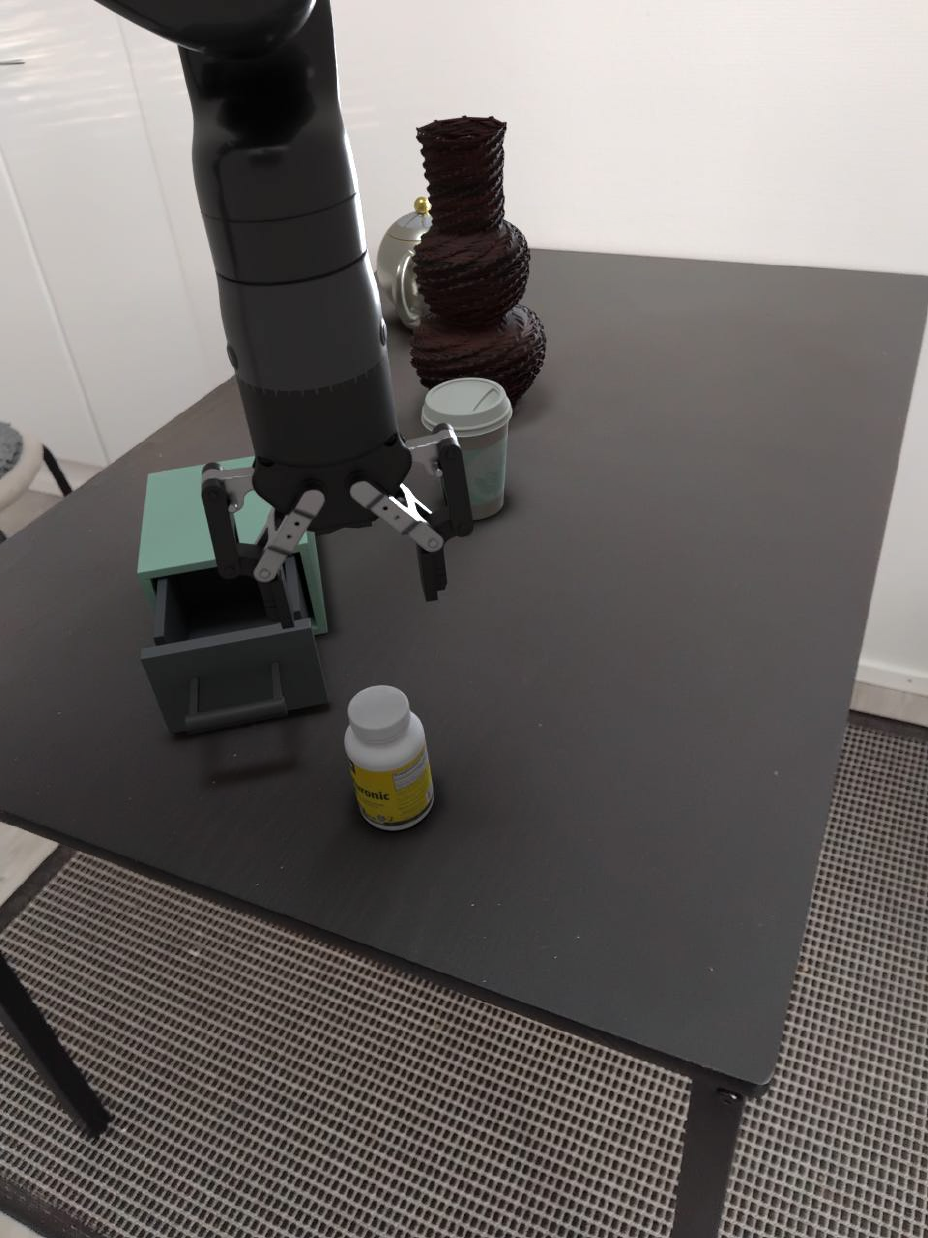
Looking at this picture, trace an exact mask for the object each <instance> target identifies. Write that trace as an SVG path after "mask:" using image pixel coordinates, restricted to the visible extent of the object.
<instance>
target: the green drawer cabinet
mask: <svg viewBox="0 0 928 1238" xmlns="http://www.w3.org/2000/svg"><path fill="white" fill-rule="evenodd" d="M254 459H255V455H251V456H247V457H246V456H245V457H240V458H234V459H227V460H221V461H216V462H214V463H218V464H220V465H222V466H223V468H224V470H229V469H238V468H246V467H252V465H253V462H254ZM206 464H207V463H204V464H198V465H192V466H187V467H186V466H185V467H181V468H174V469H168V470H162V471H157V472H150V473H147V479H146V487H145V488H146V489H145V498H144V505H143V506H144V507H143V514H142V515H143V516H142V525H141V533H140V541H139V542H140V544H139V550H138V551H139V552H138V559H137V560H138V561H137V568H136V569H137V570H136V573H137V577H138V579H139V582H140V585H141V587H142V590H143V593H144V596H145V598H146V601H147V604H148V607H149V609H150V612H151V615H152V618H153V620H154V619H155V607H156V594H157V582H158V577H162V576H168V575H173V574H179V573H185V572H190V571H196V570H201V569H207V568H213V567H217V563H216V559H215V555H214V550H213V546H212V541H211V537H210V533H209V528H208V524H207V519H206V515H205V511H204V506H203V502H202V497H201V481H202V469H203V467H204V466H205V465H206ZM271 508H272V506H271V505H270V504H269V503H267V502H266V501H265V500H263V499H262V498H261V497H259V496H258V495H257V493H256V492H255V490H254V491H250V492H248V493H247V494H246V495H245V497H244V505H243V507H242V508H241V509H240V510H238V511H237V512H235V513H234V518H235V522H236V527H237V532H238V537H239V542H240V543H247V544H255V542H256V540H257V538H258V536H259V535H260V533H261V531H262V529H263V528H264V526H265V524H266V521H267V517H268V514H269V512H270V510H271ZM297 552H298V556H299V560H300V565H301V569H302V573H303V578H304V582H305V586H306V590H307V598H308V607H309V616H310V620H311V624H312V628H313V633H314V636H317V635H318V636H319V635H322V634H327V633H328V632H329V630H328V629H329V628H328V623H327V615H326V607H325V600H324V592H323V586H322V578H321V577H322V576H321V571H320V564H319V557H318V548H317V541H316V533H315V532H311V531H307V530H306V531H305V533H304V535H303V536H302V538H301V540H300V542H299V543H298V545H297V547H296V548H295V550H294V552H293V553H297Z"/></svg>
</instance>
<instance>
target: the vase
mask: <svg viewBox="0 0 928 1238" xmlns="http://www.w3.org/2000/svg"><path fill="white" fill-rule="evenodd" d="M507 126H508V122H507V121H501V120H500V119H497V118H495V117H494V115H489V116H488V117H481V116H467V115H466V114H464V115H461V117H453V118H446V119H445V118H444V119H439V120H438V119H433V122H430V123H427V124H425V125H422V126H419V127H417V126H416V127H415V130H416V135H415V139H416V140H417V142H418V143H419V144H420V145H422V148H420V149H419V151H420V154H421V156H422V157H423V158H424V161H423V162H422V163H421V165H422V168H423V169H424V170H425V171H424V173H423V176H424V179H425V180H426V181H428V183H429V184H428V185H427V186H426V191H427V193H428V194H429V196H428V197H427V199H428V202H429V203H430V210H429V214H430V215H431V216H432V218H433V219H432V220H431V222H432V224H433V225H432V226H431V227H430V229H429V230H428V232H426V233H423V234H422V235H421V237H420V238H421V242H420V243H419V244H418V245H415V246H414V250H415V255H414V256H413V257H412V261H413V262H415V263H416V264H417V266H414V268H412V271H413V272H414V273H415V274H416V275H417V278H416V279H415V281H416V283H418V284H420V285H421V287H420V288H418V292H419V294H422V295H423V296H424V297H425V299H424V302H425V303H426V304H429V305H430V309H428V310H429V311H430V312H432V313H429V314H428V315H424V316H423V317H422V318H421V319H420V324H419V326H418V327H416V328H415V329H413V330H412V333H413V335H411V337H409V338H408V345H409V347H411V349H410V351H409V355H410V356H411V358H410V361H409V363H410V365H411V367H412V368H414V369H415V373H416V376H418V377H419V378H420V379H419V380H418V381H419V384H420V385H421V386H423V387H424V388H425V389H426V388H427V389H428V392H429V391H430V390H431V389H432V388H434V387H435V386H437V385H439V384H441V383H444V382H446V381H450V380H454V379H460V378H482V379H487V380H491V381H494V382H496V383H498V384H499V385H501V386H502V387H503V389H504V390H505V393H506V396H507V398H508V399H509V401H510V404H511V408H512V413H513V412H514V409H515V408H516V407H517V404H518V402H519V401H520V400H522V397H523V395H524V394H525V393H527V390H529V389H530V387H531V386H532V385H533V383H534V381H535V379H536V378H537V376H538V375H539V374H540V372H541V370H542V367H543V366H544V364H545V359H546V351H547V346H546V345H547V336H546V333H545V331H544V329H545V327H544V324H543V323H542V320H541V318H540V317H539V316H538V314H537V313H536V312H535V311H533V310H531V309H530V308H529V307H527V306H525V305H521V304H519V303H520V301H521V300H522V299H523V298H524V296H525V293H526V290H527V288H526V286H527V284H528V279H529V277H530V263H529V262H530V261H531V258H532V257H531V256H532V255H531V249H530V248H529V245H528V241H527V239H526V236H525V235H524V234H523V232H522V231H521V230H520V229H519V228H518V227H517V226H516V225H515V224H513V223H512V222H509V221H508V220H506V219H505V215H506V214H505V213H506V211H505V203H506V196H505V194H504V193H505V191H504V185H503V184H504V177H505V174H504V167H505V159H506V157H505V156H506V152H505V149H504V146H503V145H504V142H505V137H506V135H505V134H506V133H507V131H508V130H507V129H508V127H507ZM439 228H440V229H439ZM428 317H429V318H428Z"/></svg>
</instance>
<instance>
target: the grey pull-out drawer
mask: <svg viewBox="0 0 928 1238" xmlns="http://www.w3.org/2000/svg"><path fill="white" fill-rule="evenodd" d="M282 566H283V570H284V574H285V578H286V582H287V586H288V590H289V594H290V598H291V602H292V607H293V614H294V624H295V627H293V628H288V629H282V625H281V622H280V621H277V622H272V621H271V620H270V619H269V618H268V617H267V614H266V610H265V606H264V602H263V599H262V595H261V592H260V588H259V585H258V582H257V581H256V580H255V579H254V578H253V577H250V576H246V575H239V576H238V577H236V578H234V579H225V578H223V577H221V576H220V574H219V572H218V568H217V567H213V568H207V569H201V570H196V571H190V572H185V573H179V574H173V575H168V576H162V577H158V582H157V594H156V607H155V619H154V618H153V620H154V621H153V633H152V639H153V641H154V644H155V646H150V647H144V648H141V650H140V661H141V664H142V666H143V669H144V671H145V674H146V677H147V680H148V682H149V684H150V687H151V689H152V692H153V694H154V697H155V699H156V702H157V704H158V707H159V709H160V712H161V715H162V718H163V720H164V722H165V725H166V728H167V729H168V732H169V734H174V733H179V732H183V731H186V733H187V734H188V735H193V734H194V735H195V734H199V733H205V732H209V731H215V730H220V729H226V728H231V727H235V726H240V725H246V724H250V723H251V724H252V723H256V722H261V721H266V720H271V719H272V720H273V719H276V718H282V717H286V716H288V711H293V710H298V709H302V708H308V707H314V706H318V705H323V704H329V702H330V700H329V692H328V689H327V684H326V680H325V675H324V671H323V667H322V662H321V658H320V655H319V654H320V653H319V650H318V645H317V641H316V637H315V635H314V633H313V628H312V624H311V620H310V616H309V607H308V598H307V590H306V586H305V582H304V578H303V573H302V569H301V565H300V560H299V556H298V552H297V553H292V554H291V555H288V556H287V557H286V559H285V561H284V562H283V564H282Z"/></svg>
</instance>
